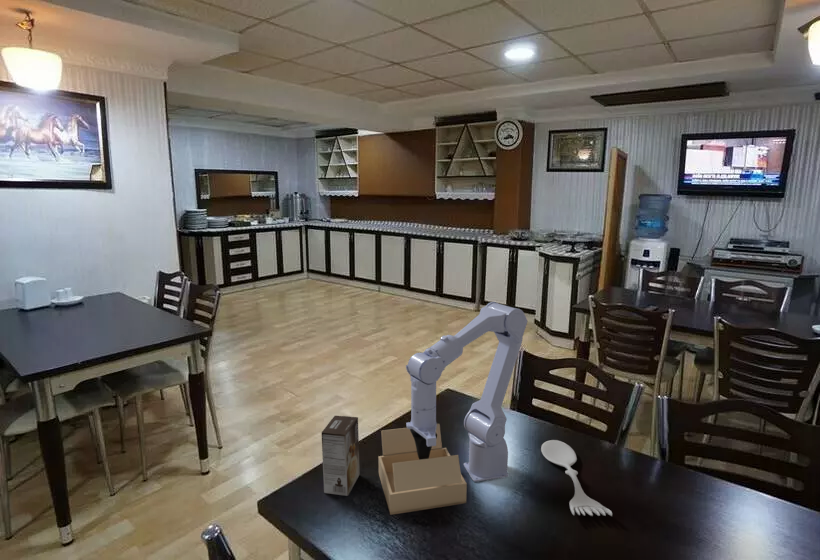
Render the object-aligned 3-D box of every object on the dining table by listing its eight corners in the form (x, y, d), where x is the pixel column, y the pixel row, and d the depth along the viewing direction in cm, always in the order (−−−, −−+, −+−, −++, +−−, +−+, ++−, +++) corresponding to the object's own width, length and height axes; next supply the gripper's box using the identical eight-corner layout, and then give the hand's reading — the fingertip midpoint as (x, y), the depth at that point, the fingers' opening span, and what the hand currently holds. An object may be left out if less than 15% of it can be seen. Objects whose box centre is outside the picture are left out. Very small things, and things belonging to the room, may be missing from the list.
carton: (445, 465, 124) (445, 447, 123) (466, 503, 109) (466, 483, 108) (378, 474, 120) (378, 456, 119) (390, 514, 105) (390, 494, 104)
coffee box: (336, 471, 121) (334, 414, 119) (360, 474, 120) (358, 416, 117) (323, 493, 113) (320, 431, 110) (348, 497, 111) (346, 434, 108)
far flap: (441, 447, 123) (441, 447, 123) (439, 424, 124) (439, 424, 125) (383, 455, 119) (382, 454, 120) (381, 430, 121) (381, 430, 121)
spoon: (571, 525, 102) (572, 511, 101) (537, 447, 133) (537, 436, 133) (613, 526, 102) (614, 512, 101) (569, 448, 133) (569, 437, 133)
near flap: (395, 491, 105) (395, 492, 104) (392, 463, 107) (392, 463, 106) (461, 482, 108) (461, 482, 108) (457, 454, 110) (458, 454, 110)
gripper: (400, 393, 114) (400, 445, 116) (414, 421, 100) (413, 479, 102) (428, 391, 115) (427, 441, 118) (445, 417, 102) (444, 474, 104)
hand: (423, 459), depth 110 cm, fingers closed
